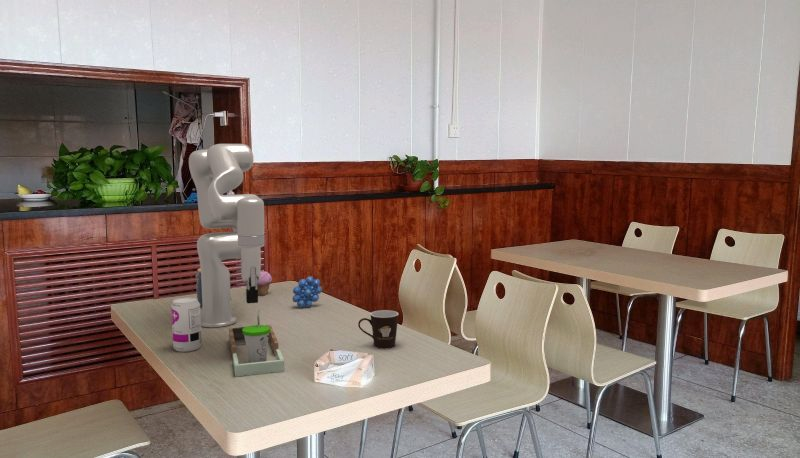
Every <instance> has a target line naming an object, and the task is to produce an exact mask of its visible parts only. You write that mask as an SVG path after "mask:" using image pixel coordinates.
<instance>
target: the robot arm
mask: <svg viewBox="0 0 800 458" xmlns="http://www.w3.org/2000/svg"><path fill="white" fill-rule="evenodd" d="M253 164H254V154H253V151H252V149H251V148H250V146H249V145H247V144H246V143H217V144H213V145H211V146H210V147H209V148H208V149H198V150H194V151H192V153H190V155H189V157H188V167H189V171H190V175H191V178H192V181H193V183H194V185H195V188H196V193H197V194H196V198H197V207H198V218H199V224H200V226H202V228H203V229H209V230H214V229H215V230H217V229H232V231H221V232H208V233H205V234H203V235H201V236H200V237H199V238H198V239H197V241H196V249H197V253H198V258H199V265H200V267H199V268H201V282H202V305H203V308H200V316H201V327H203V328H221V327H228V326H231V325H233V324H235V323H236V322H237V317H235V316H234V315H232V303H231V302H232V295H231V283H230V282H231V273H230V271H229V268H228V267H227V266H226V265H224V263H223V262H222V261H226V260H234V259H240V276H241V279H242V282H244V283H246V289H245V292H246V293H245V294H246V295H245V296H246V297H245V298H246V301H245V302H246V303H247V304H258V303H259V295H258V288H257V280H258V281H259V280H260V275H261V271H262V270H261V268H262V265H261V263H262V258H261V257H262V254H261V251H262V249H261V248H262V247H264V246H265V204H264V200H263V199H262V198H260V197H259V196H258V195H256V194H253V193H251V194H250V193H245V194H243V193H242V194H226V193H228V192H229V193H230V192H231V191H232V190H233V191H234V190H235V189H237V188H238V187H239V186H240V185H241V184H242V183H243V180H244V173H245V172H248V171H249V170H250V169H251V168H252V167H253ZM227 268H228V269H227Z"/></svg>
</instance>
